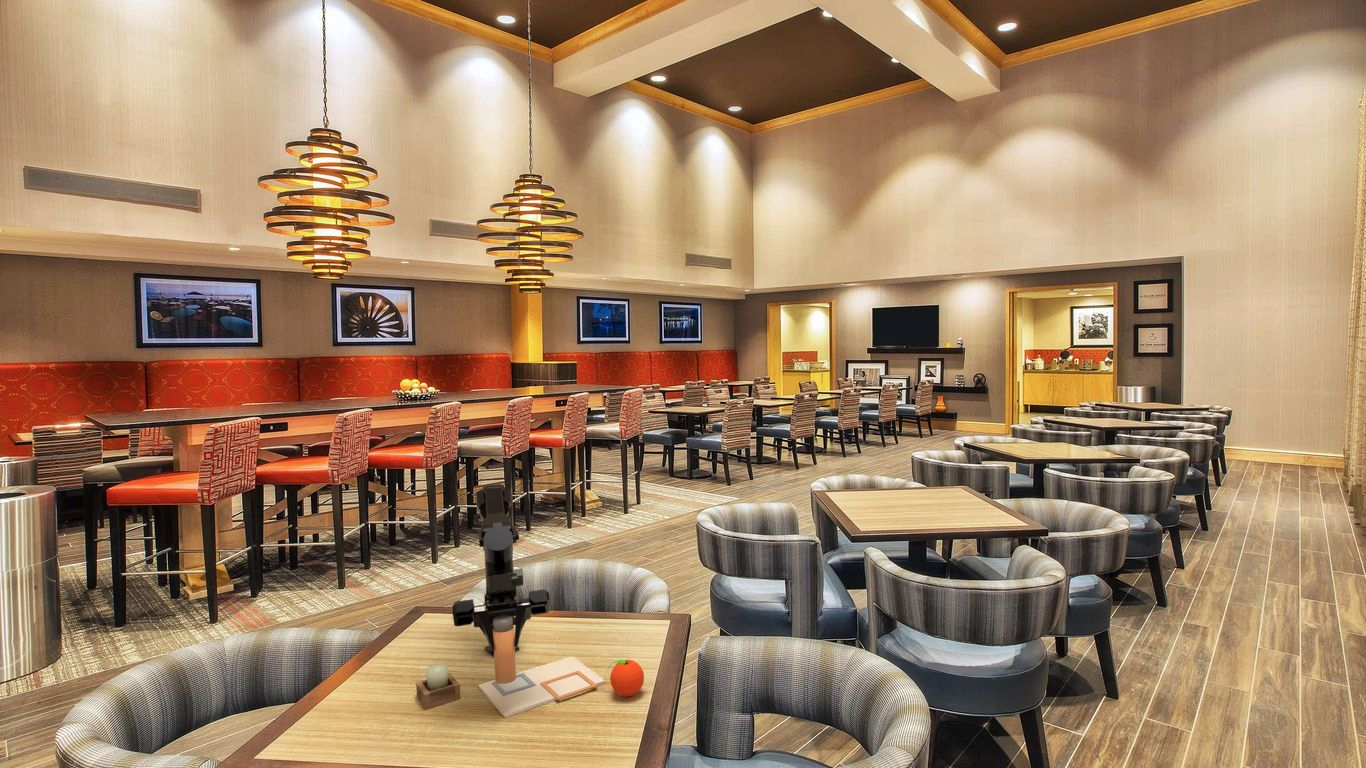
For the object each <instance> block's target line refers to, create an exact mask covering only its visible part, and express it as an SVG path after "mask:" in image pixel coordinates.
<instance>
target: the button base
mask: <svg viewBox="0 0 1366 768" xmlns="http://www.w3.org/2000/svg"><path fill="white" fill-rule="evenodd" d="M447 673H448V672H447ZM415 687H416V697H418V698H417V699H418V701H419V702H420V704H421V705H422V707H423V708H424V710H428V709H433V708H436V707H438V706H442V705H445V704H448V703H452V702H455V701H458V700H460V699H461V685H460V683H459V682H458V681H457V679H456V677H455V676H454V675H453V674H452V673H451V672H449V673H448V686H446V687H442V688H439V689H436V690H432V691H429V690H428V685H427V679H424V680H421V681H417V682H415Z"/></svg>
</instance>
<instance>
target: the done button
mask: <svg viewBox="0 0 1366 768" xmlns="http://www.w3.org/2000/svg"><path fill="white" fill-rule="evenodd" d="M426 680H427V685H428V690H429V691H432V690H436V689H439V688H442V687H446V686H448V664H445V663H436V664H433V665H430V666H428V667H427V668H426Z"/></svg>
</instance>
